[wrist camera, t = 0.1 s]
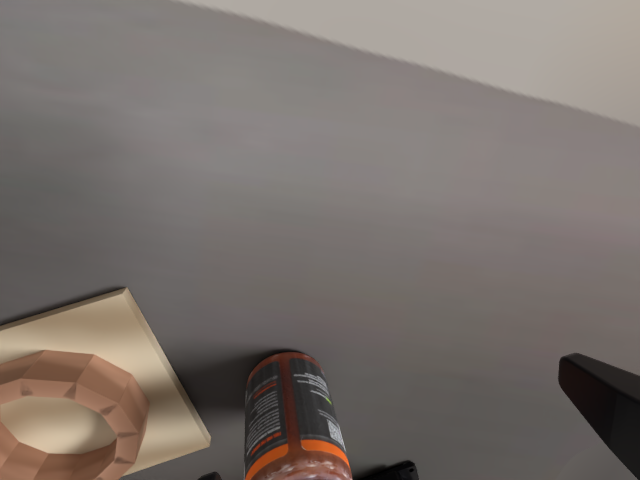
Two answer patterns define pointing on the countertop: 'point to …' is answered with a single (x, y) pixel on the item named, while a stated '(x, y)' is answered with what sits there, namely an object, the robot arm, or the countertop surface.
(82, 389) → the collar stand
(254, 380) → the supplement bottle
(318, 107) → the countertop surface
